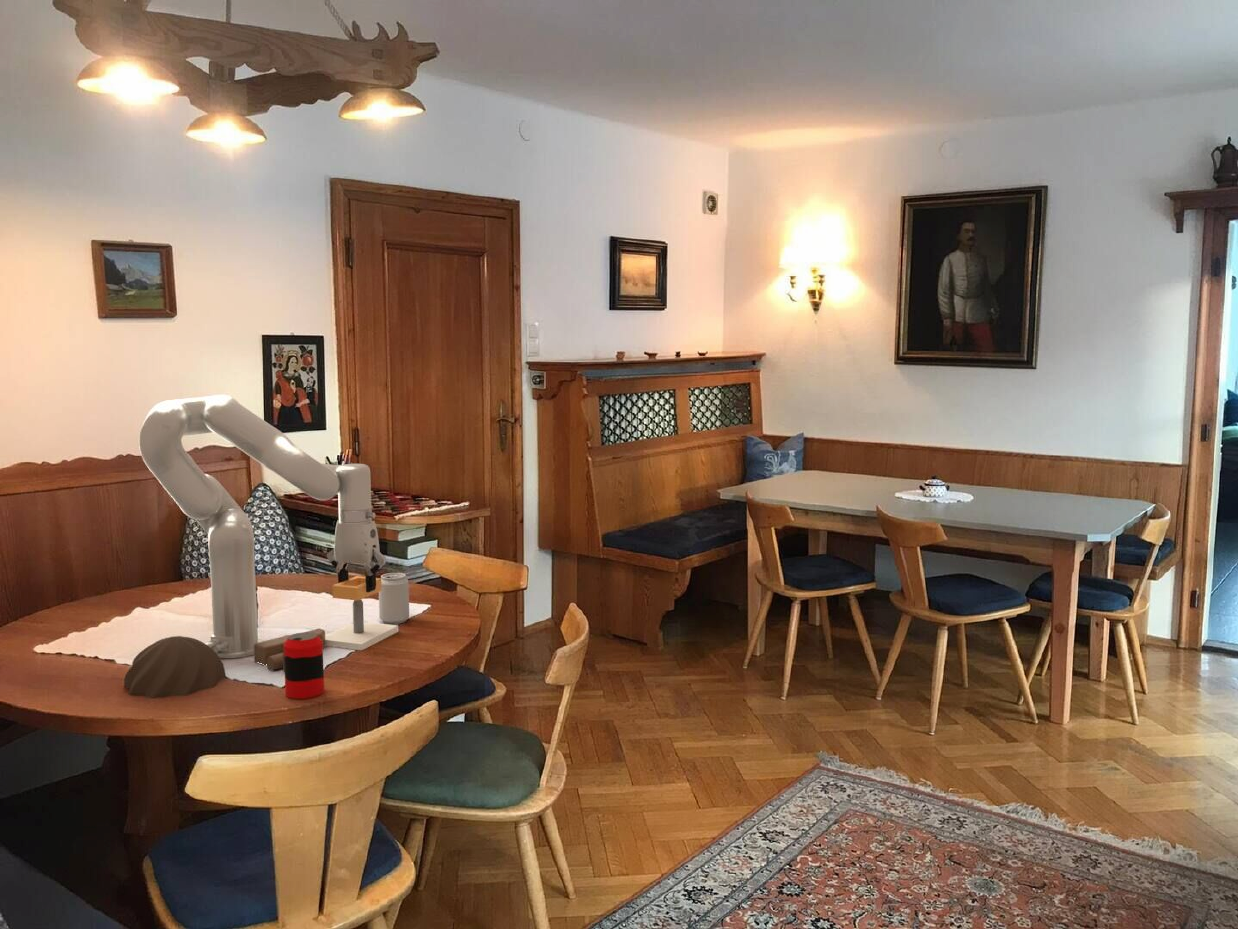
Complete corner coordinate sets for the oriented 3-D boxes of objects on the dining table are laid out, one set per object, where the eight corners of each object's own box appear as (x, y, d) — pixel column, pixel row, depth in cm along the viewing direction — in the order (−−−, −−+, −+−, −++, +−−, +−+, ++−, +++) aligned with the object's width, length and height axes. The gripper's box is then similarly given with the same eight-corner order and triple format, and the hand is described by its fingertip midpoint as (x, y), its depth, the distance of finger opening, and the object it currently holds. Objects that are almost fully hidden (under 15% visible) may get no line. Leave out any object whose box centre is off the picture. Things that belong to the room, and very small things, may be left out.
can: (376, 618, 263) (375, 573, 261) (405, 615, 266) (404, 570, 265) (383, 626, 256) (381, 579, 255) (412, 622, 259) (411, 576, 258)
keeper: (361, 650, 237) (360, 609, 236) (317, 645, 241) (316, 605, 239) (398, 631, 252) (397, 593, 251) (356, 626, 256) (355, 588, 254)
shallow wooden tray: (358, 600, 239) (357, 588, 239) (332, 598, 241) (332, 585, 241) (381, 590, 248) (381, 578, 248) (356, 588, 251) (356, 576, 250)
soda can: (278, 698, 206) (275, 640, 205) (298, 685, 214) (296, 629, 212) (312, 701, 204) (309, 643, 203) (331, 688, 212) (329, 632, 210)
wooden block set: (249, 640, 227) (319, 622, 241) (250, 664, 228) (319, 646, 242) (292, 655, 217) (362, 636, 230) (293, 681, 217) (363, 660, 231)
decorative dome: (243, 680, 217) (241, 635, 216) (149, 706, 202) (146, 657, 201) (198, 661, 229) (196, 618, 228) (107, 684, 215) (104, 637, 213)
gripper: (395, 515, 243) (397, 589, 245) (333, 511, 249) (335, 582, 251) (378, 521, 236) (380, 596, 238) (314, 516, 242) (317, 590, 244)
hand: (357, 588), depth 245 cm, fingers closed on shallow wooden tray, 6 cm apart
